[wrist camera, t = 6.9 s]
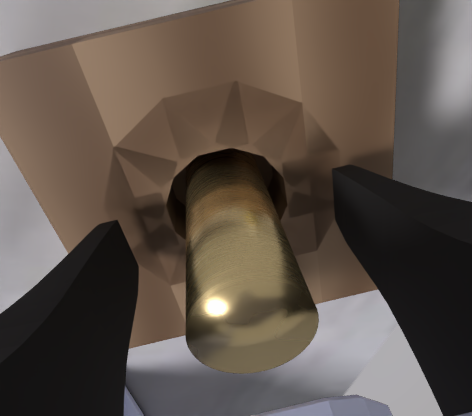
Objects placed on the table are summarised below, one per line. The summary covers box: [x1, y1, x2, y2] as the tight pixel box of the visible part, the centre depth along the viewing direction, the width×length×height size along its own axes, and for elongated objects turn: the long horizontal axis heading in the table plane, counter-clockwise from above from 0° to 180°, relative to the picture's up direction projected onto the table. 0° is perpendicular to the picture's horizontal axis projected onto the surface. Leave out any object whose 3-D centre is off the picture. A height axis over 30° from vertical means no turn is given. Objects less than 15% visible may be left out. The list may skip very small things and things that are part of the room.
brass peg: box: [186, 148, 319, 374], centre depth 11 cm, size 3×3×8 cm
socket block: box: [0, 0, 399, 348], centre depth 14 cm, size 12×12×4 cm
